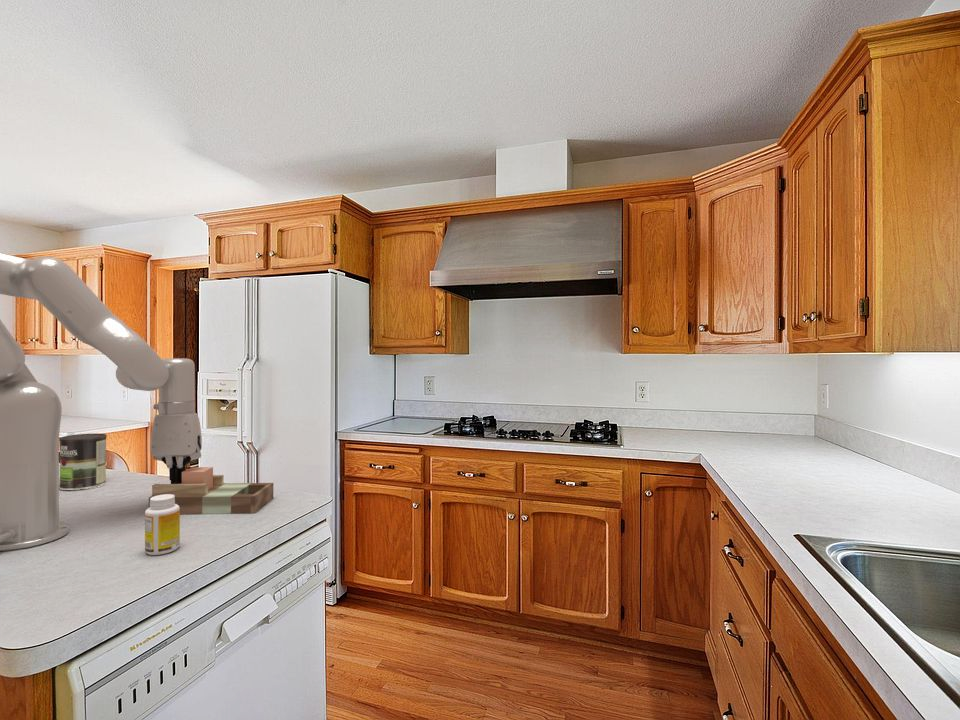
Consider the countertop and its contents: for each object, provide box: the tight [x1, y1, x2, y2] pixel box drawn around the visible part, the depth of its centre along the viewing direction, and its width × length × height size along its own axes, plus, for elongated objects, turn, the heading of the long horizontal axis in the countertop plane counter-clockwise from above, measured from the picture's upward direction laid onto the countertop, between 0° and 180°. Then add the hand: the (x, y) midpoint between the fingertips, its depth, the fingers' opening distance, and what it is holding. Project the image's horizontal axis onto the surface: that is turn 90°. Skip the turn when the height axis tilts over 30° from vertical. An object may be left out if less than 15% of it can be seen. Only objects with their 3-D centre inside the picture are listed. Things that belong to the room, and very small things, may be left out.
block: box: [182, 466, 214, 490], centre depth 118 cm, size 5×5×5 cm
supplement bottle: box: [144, 494, 181, 556], centre depth 92 cm, size 6×6×10 cm
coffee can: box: [59, 433, 107, 491], centre depth 135 cm, size 10×10×14 cm
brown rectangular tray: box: [148, 474, 274, 515], centre depth 118 cm, size 12×24×6 cm, turn 94°
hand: (177, 483), depth 118 cm, fingers closed
